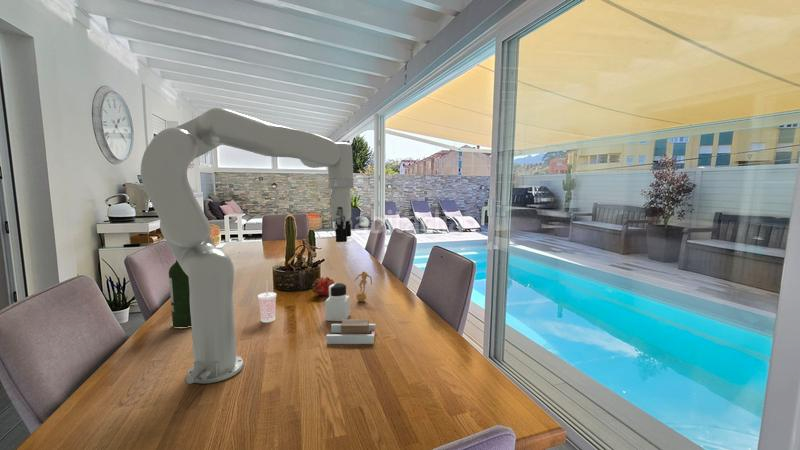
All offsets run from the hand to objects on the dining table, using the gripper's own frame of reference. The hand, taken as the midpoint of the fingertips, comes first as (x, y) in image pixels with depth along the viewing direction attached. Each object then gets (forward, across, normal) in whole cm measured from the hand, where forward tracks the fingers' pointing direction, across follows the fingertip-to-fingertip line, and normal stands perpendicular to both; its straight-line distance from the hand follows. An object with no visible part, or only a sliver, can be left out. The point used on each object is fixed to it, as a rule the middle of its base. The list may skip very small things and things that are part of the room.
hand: (343, 239), depth 112 cm
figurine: (+31, -29, +2) cm, 42 cm away
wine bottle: (+29, -5, -55) cm, 62 cm away
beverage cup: (+30, -9, -29) cm, 43 cm away
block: (+30, +6, +3) cm, 31 cm away
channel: (+30, +6, +2) cm, 30 cm away
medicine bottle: (+30, -11, -5) cm, 33 cm away
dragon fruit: (+31, -37, -15) cm, 50 cm away
